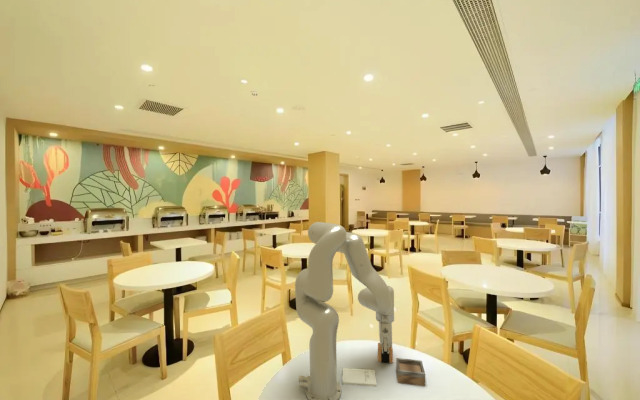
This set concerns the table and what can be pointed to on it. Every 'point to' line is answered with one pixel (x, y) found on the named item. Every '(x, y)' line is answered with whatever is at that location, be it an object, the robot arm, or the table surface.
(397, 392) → the table surface
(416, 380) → the brown wooden box
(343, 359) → the table surface
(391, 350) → the tan block
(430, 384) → the table surface
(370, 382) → the external hard drive
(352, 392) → the table surface
